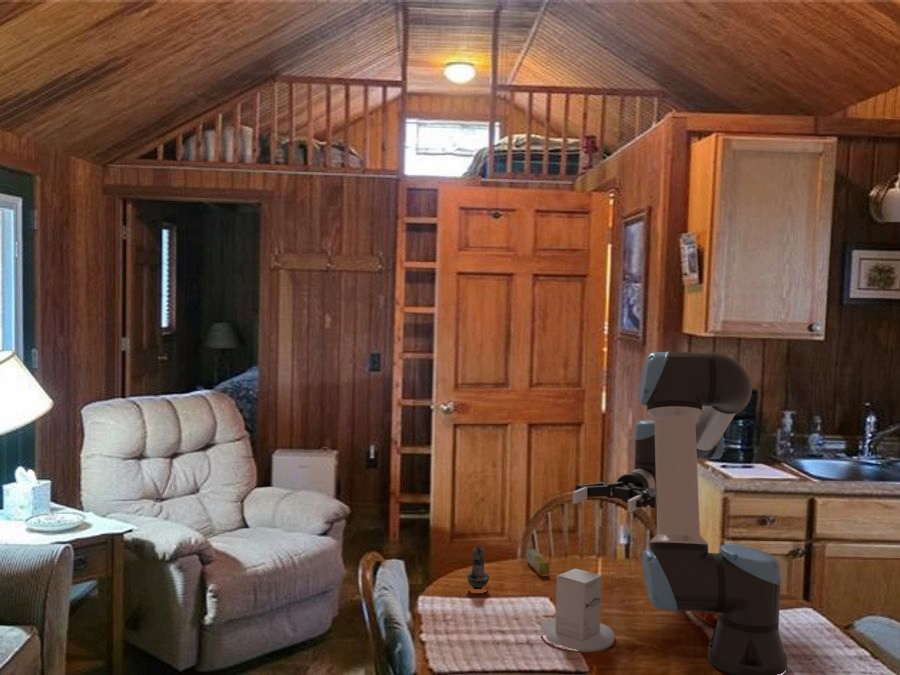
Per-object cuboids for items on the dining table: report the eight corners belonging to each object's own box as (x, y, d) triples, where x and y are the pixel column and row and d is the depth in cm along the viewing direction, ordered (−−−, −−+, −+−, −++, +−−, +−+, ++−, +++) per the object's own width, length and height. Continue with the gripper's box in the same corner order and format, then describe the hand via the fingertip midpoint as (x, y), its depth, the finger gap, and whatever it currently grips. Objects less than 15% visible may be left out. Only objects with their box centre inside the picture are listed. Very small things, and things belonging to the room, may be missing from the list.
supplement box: (583, 641, 169) (584, 583, 169) (554, 631, 174) (555, 574, 174) (601, 631, 175) (603, 574, 174) (573, 622, 180) (574, 566, 179)
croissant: (693, 610, 200) (678, 581, 200) (731, 595, 198) (716, 565, 198) (704, 644, 179) (688, 611, 179) (746, 627, 177) (730, 594, 178)
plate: (630, 642, 172) (630, 637, 172) (572, 658, 163) (572, 653, 163) (581, 616, 185) (581, 612, 185) (525, 630, 177) (525, 625, 177)
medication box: (526, 563, 224) (526, 549, 224) (535, 562, 225) (535, 548, 225) (540, 577, 213) (540, 562, 212) (549, 576, 213) (549, 561, 213)
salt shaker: (490, 586, 204) (490, 540, 204) (488, 595, 198) (489, 547, 198) (467, 585, 205) (467, 539, 204) (465, 593, 199) (466, 546, 198)
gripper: (683, 508, 194) (653, 527, 177) (589, 494, 208) (552, 509, 191) (684, 478, 194) (653, 493, 177) (589, 465, 208) (552, 478, 191)
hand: (601, 502), depth 184 cm, fingers open, 13 cm apart
